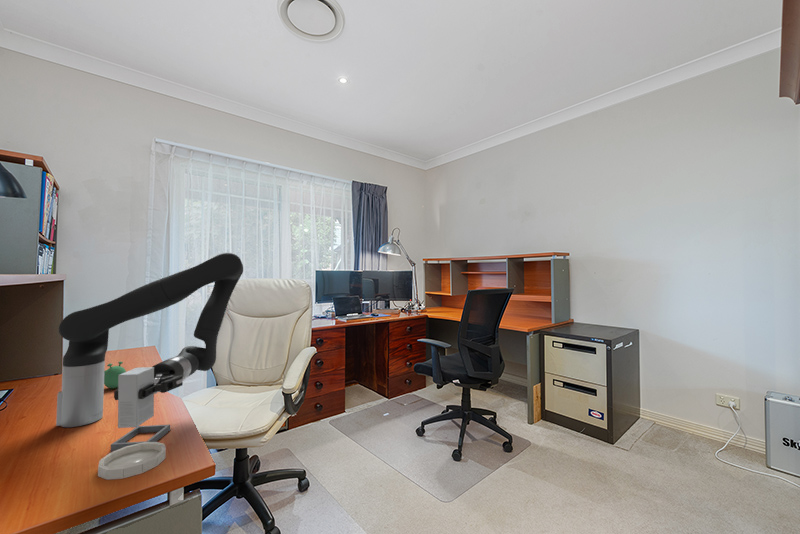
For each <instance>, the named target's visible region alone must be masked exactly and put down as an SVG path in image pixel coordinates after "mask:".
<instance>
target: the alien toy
mask: <svg viewBox="0 0 800 534" xmlns="http://www.w3.org/2000/svg"><path fill="white" fill-rule="evenodd" d="M117 363H118V365H113V363H111V362H110V363H108V364H107V366H106V367H109V368H107V369H106V370H105V369H104V387H106V388H108V389H112V390H113V389H118V375H120V374H122V373H125V372H127V370H126V368H124V367H123V366H122V364H124V362H123V361H120V360H119V361H118V362H117ZM112 365H113V366H112Z"/></svg>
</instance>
